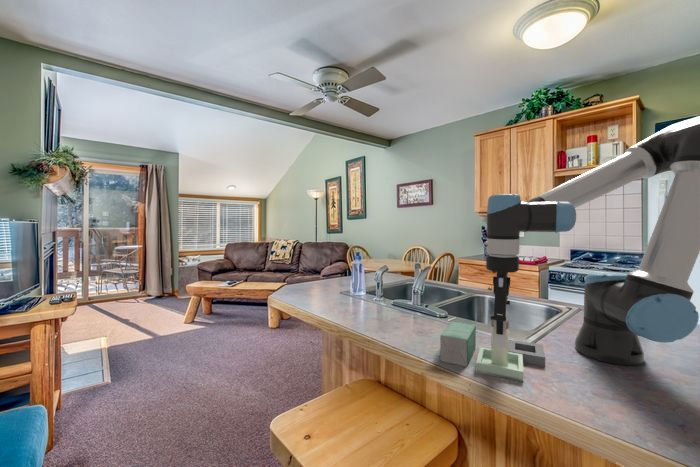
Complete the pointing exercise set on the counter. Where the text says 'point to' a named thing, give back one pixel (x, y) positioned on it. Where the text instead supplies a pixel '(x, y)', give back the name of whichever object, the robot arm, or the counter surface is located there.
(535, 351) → the holder
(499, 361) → the block
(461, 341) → the box
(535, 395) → the counter surface
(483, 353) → the tray
